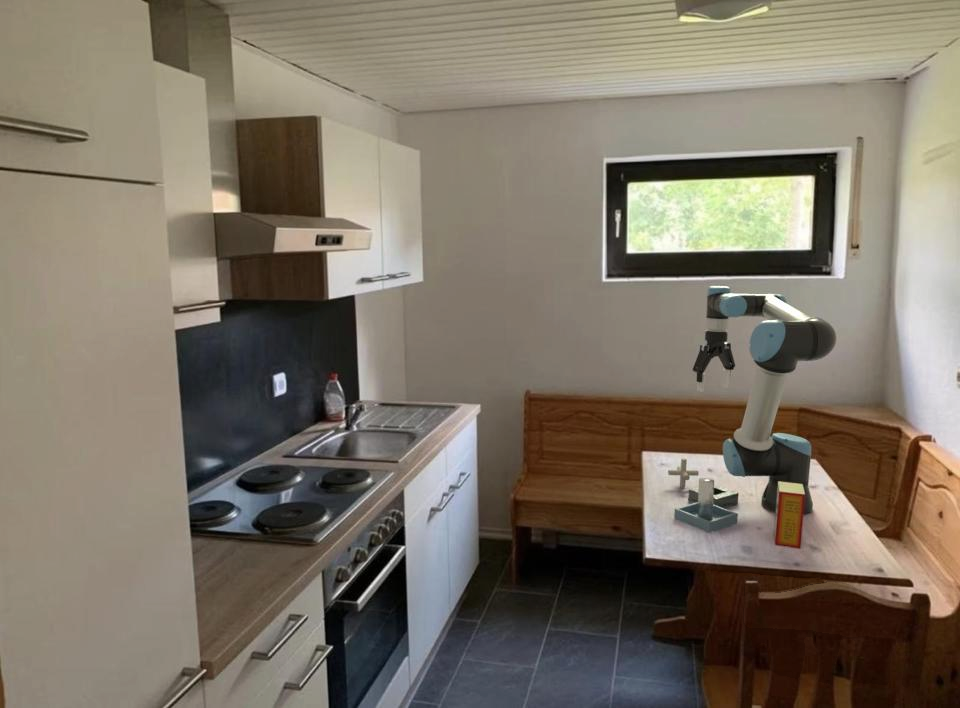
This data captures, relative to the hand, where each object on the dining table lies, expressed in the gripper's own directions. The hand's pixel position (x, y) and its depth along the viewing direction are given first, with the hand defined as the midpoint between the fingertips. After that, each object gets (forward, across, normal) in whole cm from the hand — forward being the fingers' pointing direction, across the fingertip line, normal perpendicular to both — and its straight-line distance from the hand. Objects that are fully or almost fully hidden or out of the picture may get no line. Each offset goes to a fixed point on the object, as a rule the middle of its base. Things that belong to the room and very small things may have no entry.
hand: (713, 389), depth 258 cm
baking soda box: (+32, +29, +51) cm, 67 cm away
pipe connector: (+32, +18, +4) cm, 37 cm away
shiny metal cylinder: (+31, +37, +29) cm, 56 cm away
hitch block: (+32, +21, +19) cm, 43 cm away
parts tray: (+32, +37, +29) cm, 57 cm away
